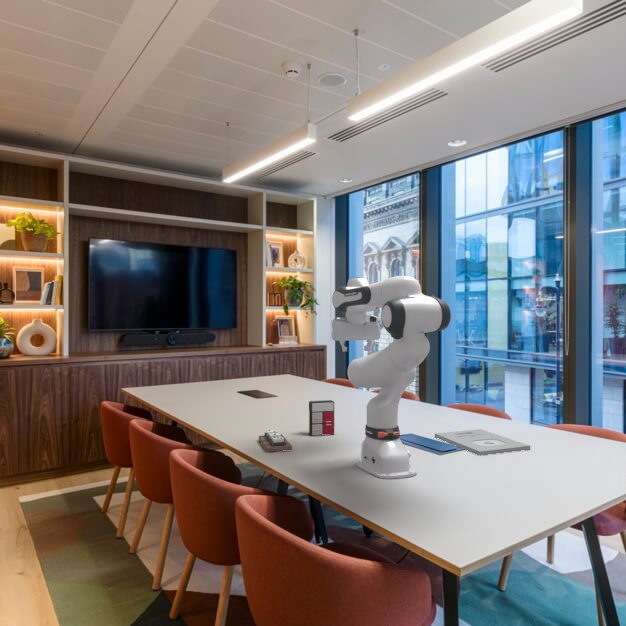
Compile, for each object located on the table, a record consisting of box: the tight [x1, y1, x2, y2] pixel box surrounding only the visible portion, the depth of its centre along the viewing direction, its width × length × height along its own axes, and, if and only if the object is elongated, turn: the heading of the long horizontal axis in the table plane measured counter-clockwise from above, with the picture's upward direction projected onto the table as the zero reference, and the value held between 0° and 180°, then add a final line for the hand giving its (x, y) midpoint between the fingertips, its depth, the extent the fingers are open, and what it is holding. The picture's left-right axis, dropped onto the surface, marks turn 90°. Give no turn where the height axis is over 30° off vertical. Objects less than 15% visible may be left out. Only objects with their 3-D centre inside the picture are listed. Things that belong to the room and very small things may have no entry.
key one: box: [269, 432, 281, 439], centre depth 204 cm, size 4×4×2 cm
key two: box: [265, 429, 279, 435], centre depth 210 cm, size 4×4×2 cm
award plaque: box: [434, 428, 531, 457], centre depth 208 cm, size 25×30×2 cm
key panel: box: [258, 432, 293, 453], centre depth 204 cm, size 19×10×3 cm, turn 16°
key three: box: [272, 436, 284, 443], centre depth 198 cm, size 4×4×2 cm
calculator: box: [308, 399, 335, 436], centre depth 222 cm, size 11×4×15 cm, turn 105°
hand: (355, 351), depth 201 cm, fingers open, 8 cm apart
